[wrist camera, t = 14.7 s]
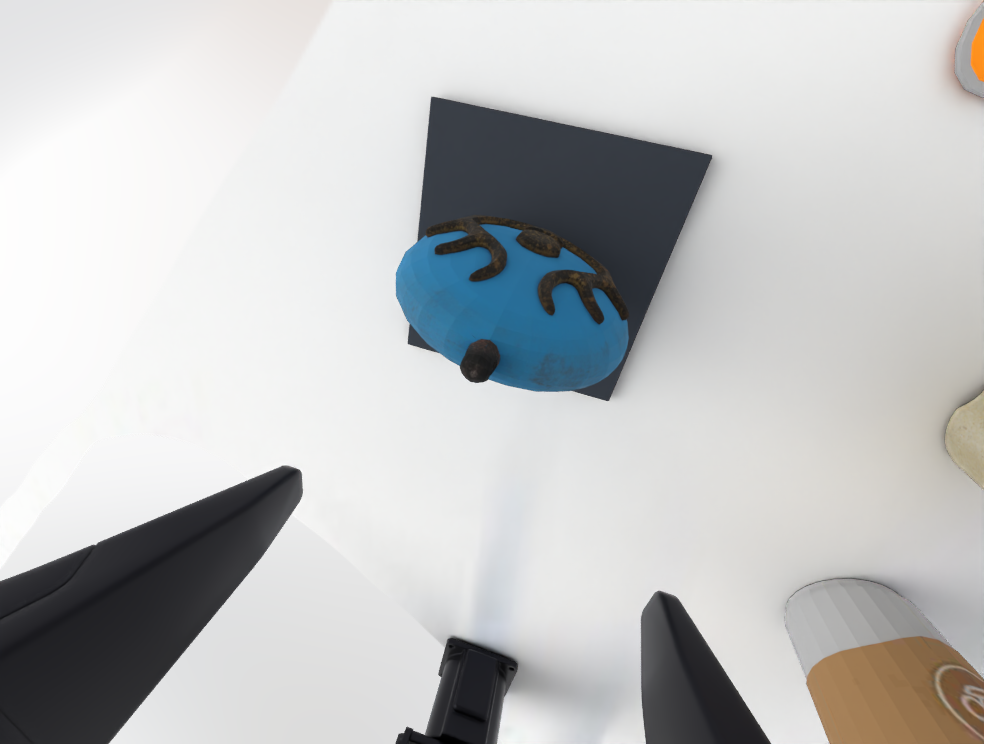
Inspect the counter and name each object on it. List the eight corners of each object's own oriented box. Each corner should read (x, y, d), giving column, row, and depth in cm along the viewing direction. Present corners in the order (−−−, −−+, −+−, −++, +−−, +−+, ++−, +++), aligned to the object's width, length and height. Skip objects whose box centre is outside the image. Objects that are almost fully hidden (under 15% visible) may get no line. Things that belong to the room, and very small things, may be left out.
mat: (608, 396, 19) (608, 401, 18) (411, 341, 20) (407, 344, 20) (709, 156, 14) (713, 155, 13) (435, 98, 15) (430, 96, 14)
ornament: (644, 261, 15) (726, 354, 7) (592, 352, 18) (602, 513, 9) (463, 185, 16) (311, 177, 7) (435, 285, 18) (293, 376, 9)
